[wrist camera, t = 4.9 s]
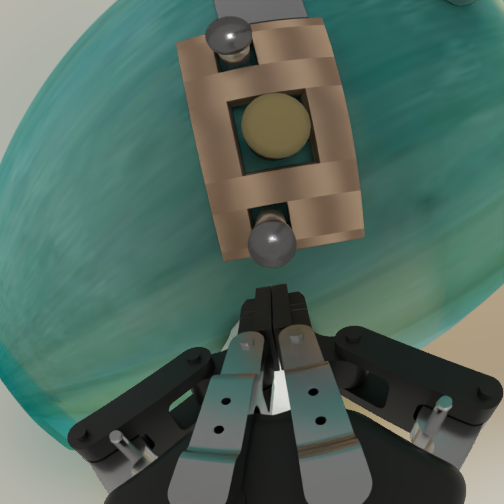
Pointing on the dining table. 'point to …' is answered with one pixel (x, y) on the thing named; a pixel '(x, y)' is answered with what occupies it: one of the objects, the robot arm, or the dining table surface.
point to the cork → (275, 126)
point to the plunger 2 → (271, 239)
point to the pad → (261, 10)
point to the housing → (287, 177)
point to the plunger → (231, 41)
